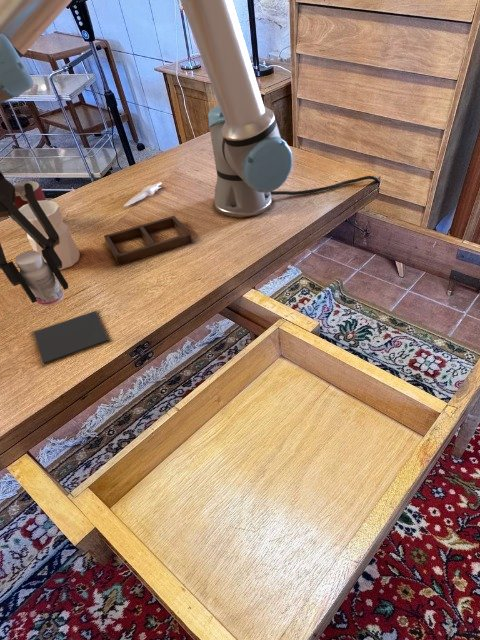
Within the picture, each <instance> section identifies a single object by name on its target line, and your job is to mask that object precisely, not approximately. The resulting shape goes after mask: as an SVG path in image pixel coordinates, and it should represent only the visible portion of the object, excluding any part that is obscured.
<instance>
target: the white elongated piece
mask: <svg viewBox="0 0 480 640" xmlns="http://www.w3.org/2000/svg"><path fill="white" fill-rule="evenodd" d="M162 184H163V183H162V181H158V182H157V183H154V184H151V185H147V186H144V187H143V189H142V190H140V192H138V193H137V194H136V195H134V196H133V197H132V198H130V199H129V200H128V201H127V202H126V203H124V204H123V207H128V206H130V205H132V204H134V203H137V202H139V201H142V200H143V199H145V198H146V197H150V196H153V195H154V194H155V193H156V192H157V191H158V190H159V189H162V186H161V185H162Z"/></svg>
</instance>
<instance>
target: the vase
mask: <svg viewBox="0 0 480 640" xmlns="http://www.w3.org/2000/svg"><path fill="white" fill-rule="evenodd" d="M37 202H38V203H39V205H40V206H41V208H42V210H43V211H44V213H45V214H46V216H47V218H48V219H49V221H50V222H51V224H52V226H53V227H54V229H55V230H56V232H57V234H58V235H59V241H60V243H59V244H58V245H56V246H55V247H54V250H55V252H56V253H57V255H58V257H59V258H60V260H61V261H62V267H63V268H60V269H59V270H60V271H61V270H65V269H67V268H70V267H72V266H73V265H75V264H76V263H78V261H79V260H80V256H81V255H80V251H79V249H78V246H77V244H76V242H75V240H74V238H73V236H72V233H71V231H70V228H69V226H68V224H67V223H65V222H64V217H63V216H64V215H63V213H62V211H61V209H60V206H59V205H58V203H57V202H56V201H52V200H48V199H46V200H44V201H37ZM18 210H19V211H20V212H21V213H22V214H23V215H24V216H25V217H26V218H27V219H28V220H29V221H30V222H31V223H32V224H33V225H34V226H35V227H36V229H37V230H38V231H39V232H40V233H41V234H42V235H43V236H44V237H45V238H46V239H48V238H49V237H48V235H47V234H46V232H45V231H44V229H43V227H42V226H41V224H40V223H39V221H38V219H37V218H36V216H35V215H34V213H33V211H32V210H31V208H30V206H29V204H26V205H24V206H22V207H21V208H20V209H18ZM26 237H27V241H28V242H29V244H30V246H31V248H32V250H33V251H37V252H39V253H40V254H41V256H42V251H41V250H43V249H42V248H41V247H40V246H39V245H38V244H37V243H36V242H35V241H34V240H33V239H32V238H31V237H30V236H29V235H28V234H27V233H26ZM42 258H43V260H44V262H46V260H45V259H44V257H43V256H42ZM46 263H47V262H46Z"/></svg>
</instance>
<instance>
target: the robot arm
mask: <svg viewBox="0 0 480 640" xmlns="http://www.w3.org/2000/svg"><path fill="white" fill-rule="evenodd" d="M72 1H73V0H0V104H2V103H4V102H7V101H9V100H12V99H14V98H19V97H21V95H22V94H25V92H27V91H29V90H31V89H32V88H33V87H34V80H33V77H32V76H31V74H30V72H29V70H28V68H27V67H26V65H25V63H24V62H23V60H22V58H23V57H24V55H25V54H26V53H27V51H29V50H30V48H31V47H32V46H33V45H34V44H35V43H36V41H37V40H38V39H39V38H40V37H41V36H42V35H43V34H44V33H45V31H46V30H48V28H49V27H50V26H51V25H52V24H53V23H54V22H55V20H56V19H57V18H58V17H59V16H60V15H61V14H62V12H63V11H64V10H65V9H66V8H67V7H68V6H69V5H70V4H71V2H72ZM180 3H181V6H182V9H183V12H184V14H185V17H186V19H187V23H188V25H189V28H190V30H191V33H192V36H193V39H194V41H195V44H196V46H197V49H198V51H199V54H200V57H201V60H202V62H203V65H204V69H205V71H206V74H207V77H208V79H209V81H210V85H211V87H212V89H213V92H214V95H215V98H216V100H217V103H218V105H217V106H214V107H212V108H211V109H210V110H209V111H208V114H207V117H208V118H207V119H208V128H209V132H210V139H211V145H212V151H213V158H214V163H215V169H216V170H215V171H216V184H215V187H214V197H213V199H214V201H213V202H214V208H215V210H216V211H217V212H218V213H219V214H221V215H223V216H226V217H229V218H236V219H237V218H238V219H239V218H240V219H241V218H251V217H255V216H259V215H262V214H263V213H265V212H266V211H268V210H270V208H271V207H272V204H273V203H272V202H273V201H272V196H279V195H282V196H283V195H284V196H285V195H287V196H298V195H306V194H313V193H317V192H323V191H329V190H332V189H335V188H339V187H342V186H345V185H348V184H354V183H357V182H361V181H362V182H363V181H366V180H373V181H375V182H376V183H381V179H379V178H378V177H376V176H373V175H365V176H361V177H358V178H357V177H356V178H353V179H347V180H343V181H341V182H338V183H335V184H331V185H327V186H323V187H317V188H313V189H312V188H311V189H305V190H296V191H295V190H294V191H291V190H278V189H279V188H281V186H283V185H284V184H285V183H286V181H287V179H289V178H288V177H289V175H290V174H291V172H292V169H293V163H294V162H293V161H294V159H293V158H294V157H293V152H292V149H291V148H290V146H289V144H288V143H287V141H285V139H283V138H282V137H281V134H280V131H279V126H278V124H277V123H278V122H277V120H276V117H275V113H274V111H273V110H272V109H270V108H268V107H266V106H265V105H264V101H263V98H262V95H261V94H262V93H261V91H260V88H259V84H258V80H257V78H256V73H255V71H254V67H253V64H252V61H251V57H250V53H249V50H248V47H247V44H246V40H245V36H244V34H243V30H242V27H241V23H240V20H239V19H240V18H239V16H238V13H237V9H236V6H235V2H234V0H180ZM13 184H14V183H12V182H11V181H9V180H7V178H6V177H5V176H4V174H3V172H2V171H1V170H0V218H7V217H9V218H11V219H12V220H13V222H15V223H16V224H17V225H18V226H19V228H21V229H22V230H23V231H24V232H25V233H26V235H27V234H28V235H29V236H30V237H31V238H32V239H33V240H34V241H35V242H36V243H37V244H38V245H39V246H40V247H41V248H42V249H43V250H41V251H42V256H43V257H44V259H45V260H46V262H47V263H48V265H49V266H50V268H51V270H52V272H53V274H54V276H55V277H56V279H57V281H58V283H59V285H60V287H61V288H62V290H63V291H66V290H69V283H68V281H67V280H66V279H65V277H64V275H63V274H62V272H61V270H59V269H60V268H63V267H62V261H61V260H60V258H59V257H58V255H57V253H56V252H55V250H54V247H55V246H56V245H58V244H59V243H60V241H59V235H58V234H57V232H56V230H55V229H54V227H53V226H52V224H51V222H50V221H49V219H48V218H47V216H46V214H45V213H44V211H43V210H42V208H41V206H40V205H39V203H38V202H37V200H36V198H35V196H34V191H33V187H32V185H31V184H29V183H26V184H25V185H24V186H14V185H13ZM16 194H17V195H19V196H21V198H22V200H24V201H28V204H29V206H30V208H31V210H32V211H33V213H34V215H35V216H36V218H37V219H38V221H39V223H40V224H41V226H42V227H43V229H44V231H45V232H46V234H47V235H48V237H49V238H48V239H46V238H45V237H44V236H43V235H42V234H41V233H40V232H39V231H38V230H37V229H36V227H35V226H34V225H33V224H32V223H31V222H30V221H29V220H28V219H27V218H26V217H25V216H24V215H23V214H22V213H21V212H20V211H19V210H18V208H17V207H16V206H15V197H16ZM18 269H19V268H18V267H17V265H15V263H14V262H13V261H12V260H10V261H7V258H6V255H5V252H4V249H3V247H2V243H1V242H0V270H1V271H2V272H3V273H4V275H5V276H6V278H7V279H8V281H9V283H10V285H12V286H13V287H16V286H19V285H20V286H21V287H22V289H23V291H24V293H25V294H26V295H27V297H28V298H29V300H30V301H31V303H32V304H34V303H37V300H36V297H35V295H34V294H33V292H32V291H31V289H30V288H29V286H28V285H27V283H26V282H25V280H24V278H23V277H22V275H21V274H20V270H18Z"/></svg>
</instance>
